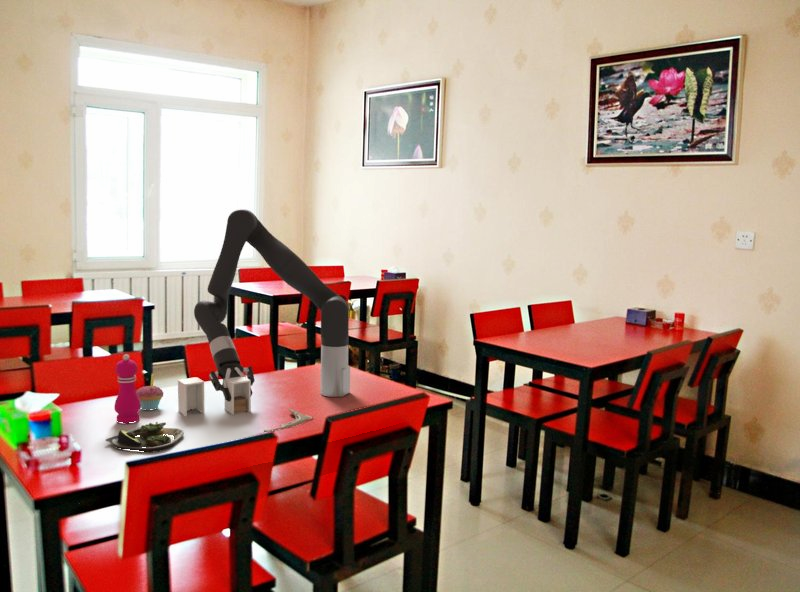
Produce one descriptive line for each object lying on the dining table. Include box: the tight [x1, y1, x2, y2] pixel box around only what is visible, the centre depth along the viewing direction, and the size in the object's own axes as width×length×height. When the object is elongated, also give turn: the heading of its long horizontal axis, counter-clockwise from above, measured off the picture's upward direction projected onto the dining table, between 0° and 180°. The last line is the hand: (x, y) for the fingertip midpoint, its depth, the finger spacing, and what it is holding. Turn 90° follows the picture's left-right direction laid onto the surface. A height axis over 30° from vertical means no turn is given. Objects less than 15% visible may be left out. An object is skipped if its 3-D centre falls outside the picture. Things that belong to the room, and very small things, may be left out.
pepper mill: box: [114, 354, 141, 423], centre depth 202 cm, size 7×7×20 cm
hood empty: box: [177, 376, 205, 417], centre depth 212 cm, size 6×6×10 cm
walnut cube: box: [234, 396, 247, 414], centre depth 216 cm, size 4×4×4 cm
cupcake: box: [135, 372, 164, 410], centre depth 215 cm, size 9×8×12 cm
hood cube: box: [224, 376, 252, 416], centre depth 215 cm, size 6×6×10 cm
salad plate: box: [105, 421, 185, 453], centre depth 189 cm, size 19×18×5 cm
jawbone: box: [263, 407, 314, 433], centre depth 204 cm, size 9×20×2 cm, turn 167°
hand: (239, 398), depth 214 cm, fingers closed on hood cube, 6 cm apart
